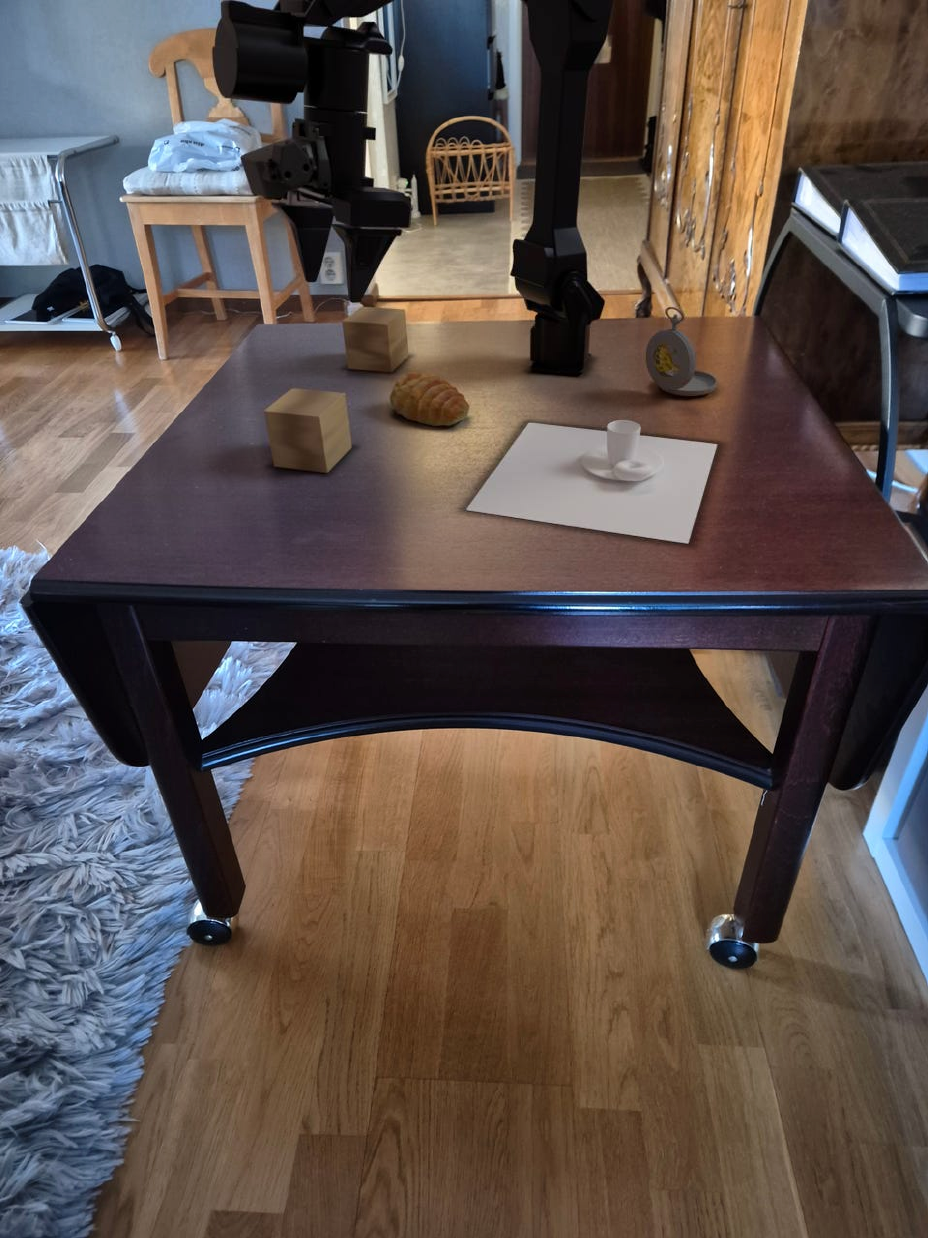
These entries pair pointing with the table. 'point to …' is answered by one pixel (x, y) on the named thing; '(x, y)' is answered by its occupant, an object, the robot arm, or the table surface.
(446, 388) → the pastry
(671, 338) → the pocket watch
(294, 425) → the block
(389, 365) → the block
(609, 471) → the teacup and saucer
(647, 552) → the table surface
